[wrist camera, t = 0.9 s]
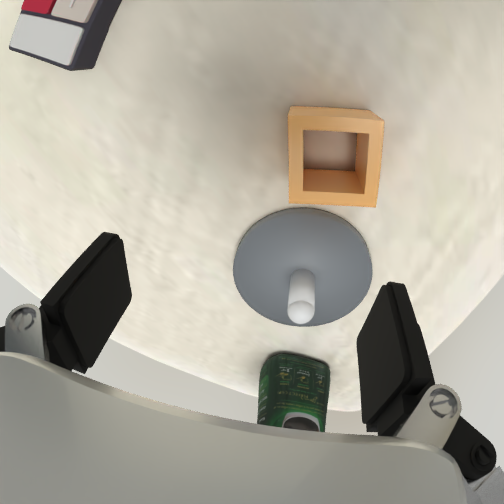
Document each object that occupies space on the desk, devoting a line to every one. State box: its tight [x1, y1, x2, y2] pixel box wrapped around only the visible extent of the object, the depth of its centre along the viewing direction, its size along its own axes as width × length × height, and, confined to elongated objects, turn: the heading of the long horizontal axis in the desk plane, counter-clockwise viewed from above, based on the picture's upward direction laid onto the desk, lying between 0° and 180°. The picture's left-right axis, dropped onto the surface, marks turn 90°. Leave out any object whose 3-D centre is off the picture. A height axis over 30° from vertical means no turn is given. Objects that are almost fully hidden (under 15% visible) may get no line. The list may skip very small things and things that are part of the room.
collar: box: [288, 106, 384, 207], centre depth 22 cm, size 6×6×5 cm
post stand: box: [233, 208, 372, 326], centre depth 29 cm, size 14×14×7 cm
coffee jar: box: [257, 354, 330, 432], centre depth 34 cm, size 10×8×19 cm
